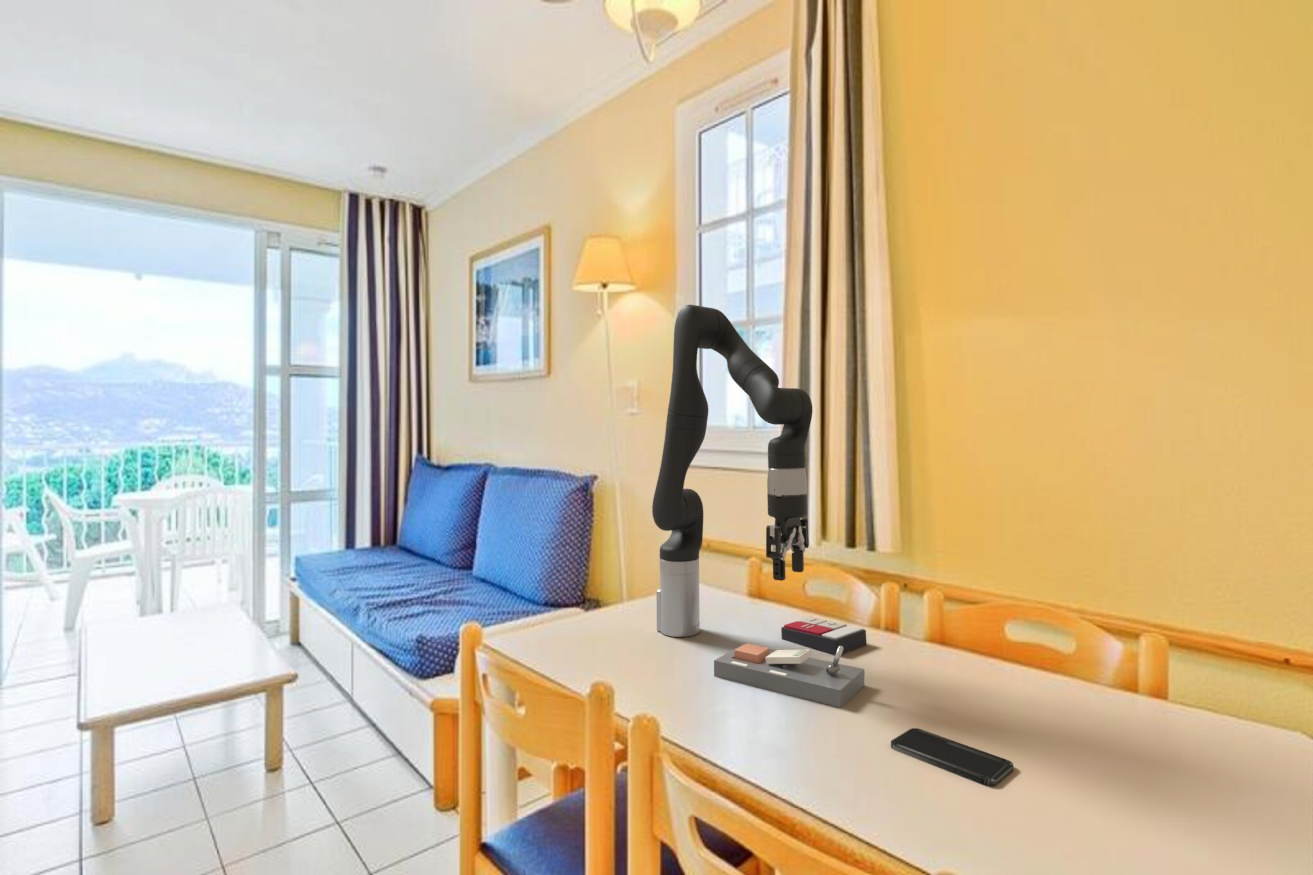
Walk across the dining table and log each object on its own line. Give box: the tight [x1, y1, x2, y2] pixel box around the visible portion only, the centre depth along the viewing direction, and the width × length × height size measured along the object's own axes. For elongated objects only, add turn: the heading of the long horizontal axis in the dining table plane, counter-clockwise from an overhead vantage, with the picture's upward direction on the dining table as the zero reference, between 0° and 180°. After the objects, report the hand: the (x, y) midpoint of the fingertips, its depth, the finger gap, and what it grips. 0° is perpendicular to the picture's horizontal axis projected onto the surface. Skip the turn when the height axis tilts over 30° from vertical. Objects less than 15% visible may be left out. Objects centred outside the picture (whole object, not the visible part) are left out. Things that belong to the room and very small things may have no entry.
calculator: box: [780, 616, 867, 657], centre depth 147 cm, size 11×4×15 cm
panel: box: [713, 643, 865, 709], centre depth 124 cm, size 25×12×4 cm, turn 53°
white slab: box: [765, 648, 812, 664], centre depth 124 cm, size 7×5×1 cm
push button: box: [733, 642, 771, 664], centre depth 129 cm, size 5×5×3 cm
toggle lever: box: [826, 646, 843, 676], centre depth 119 cm, size 2×2×6 cm
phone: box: [890, 727, 1014, 788], centre depth 95 cm, size 8×1×15 cm
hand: (788, 575), depth 127 cm, fingers open, 8 cm apart
